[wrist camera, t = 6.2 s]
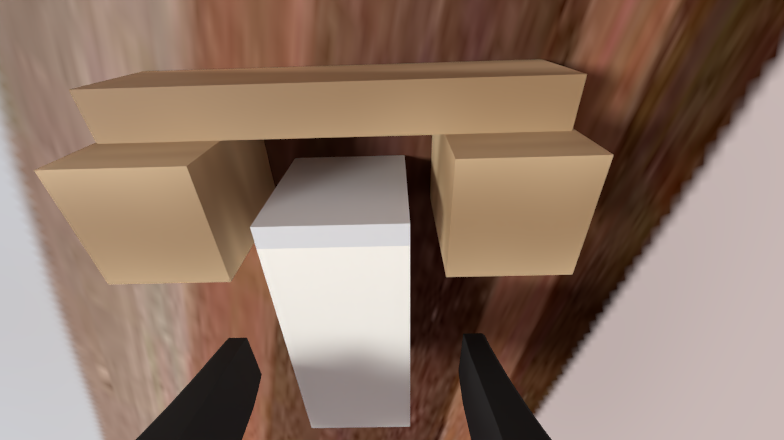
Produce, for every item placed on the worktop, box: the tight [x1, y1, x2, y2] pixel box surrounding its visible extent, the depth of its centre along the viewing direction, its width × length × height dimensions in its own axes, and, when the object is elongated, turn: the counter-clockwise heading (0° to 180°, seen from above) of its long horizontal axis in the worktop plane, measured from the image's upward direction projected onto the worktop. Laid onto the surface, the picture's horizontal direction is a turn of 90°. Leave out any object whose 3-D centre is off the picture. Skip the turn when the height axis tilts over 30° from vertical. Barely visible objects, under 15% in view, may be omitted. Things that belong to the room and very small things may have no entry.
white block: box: [250, 155, 410, 428], centre depth 11 cm, size 9×4×4 cm, turn 2°
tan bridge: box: [34, 59, 614, 284], centre depth 9 cm, size 4×11×4 cm, turn 91°
